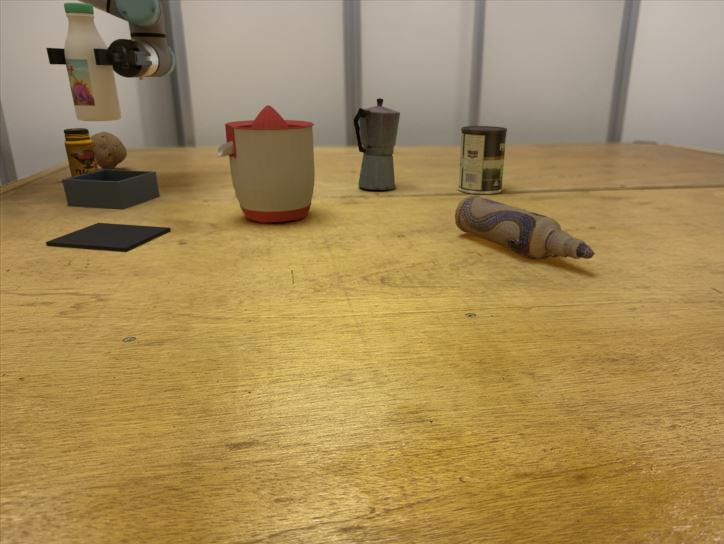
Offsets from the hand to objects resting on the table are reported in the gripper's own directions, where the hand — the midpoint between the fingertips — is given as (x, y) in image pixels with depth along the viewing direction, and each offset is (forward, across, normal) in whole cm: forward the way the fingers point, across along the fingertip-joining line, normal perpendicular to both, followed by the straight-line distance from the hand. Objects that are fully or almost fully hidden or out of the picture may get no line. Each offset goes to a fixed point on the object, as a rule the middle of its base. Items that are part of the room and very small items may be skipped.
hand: (73, 56), depth 98 cm
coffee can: (-23, -77, -28) cm, 85 cm away
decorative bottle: (+23, -77, -28) cm, 85 cm away
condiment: (-30, +20, -28) cm, 46 cm away
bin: (-7, +1, -28) cm, 28 cm away
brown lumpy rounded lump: (-43, +20, -28) cm, 55 cm away
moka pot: (-24, -53, -28) cm, 64 cm away
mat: (+19, -11, -28) cm, 36 cm away
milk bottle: (-5, 0, -11) cm, 12 cm away
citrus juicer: (+4, -34, -28) cm, 44 cm away
